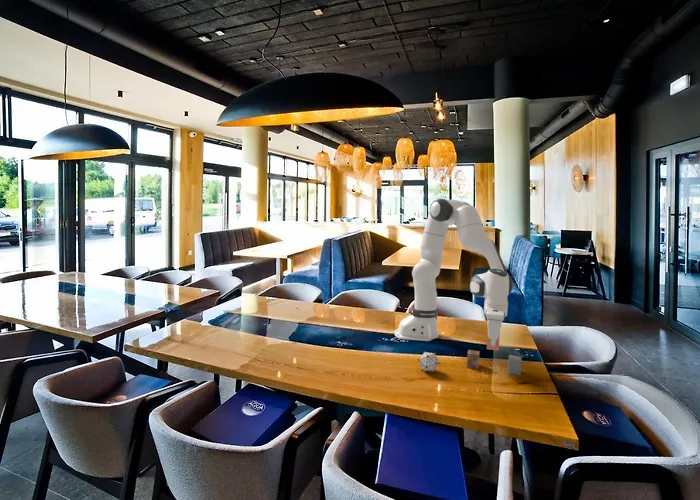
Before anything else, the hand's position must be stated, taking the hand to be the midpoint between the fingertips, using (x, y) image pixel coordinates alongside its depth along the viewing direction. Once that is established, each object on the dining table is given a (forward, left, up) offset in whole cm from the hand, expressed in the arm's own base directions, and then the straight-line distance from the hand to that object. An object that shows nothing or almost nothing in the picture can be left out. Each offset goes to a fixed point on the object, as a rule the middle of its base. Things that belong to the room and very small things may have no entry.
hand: (493, 342), depth 160 cm
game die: (-26, -3, -11) cm, 29 cm away
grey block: (+8, -3, -11) cm, 14 cm away
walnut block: (-7, +3, -11) cm, 13 cm away
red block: (0, 0, -2) cm, 2 cm away
